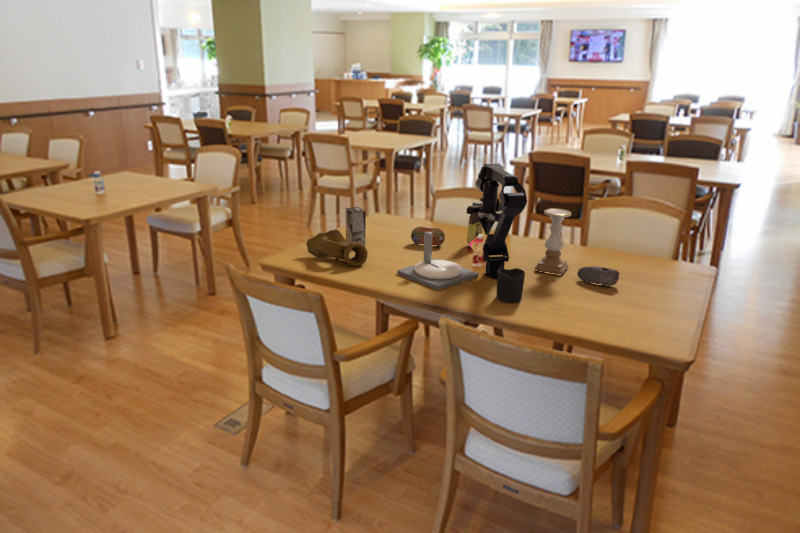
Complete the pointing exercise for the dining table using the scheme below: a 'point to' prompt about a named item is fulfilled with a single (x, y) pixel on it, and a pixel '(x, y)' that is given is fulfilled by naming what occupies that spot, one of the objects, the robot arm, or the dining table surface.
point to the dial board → (437, 283)
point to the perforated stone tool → (599, 275)
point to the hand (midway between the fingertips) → (487, 234)
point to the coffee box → (355, 225)
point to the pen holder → (510, 284)
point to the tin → (420, 231)
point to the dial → (435, 264)
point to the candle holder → (554, 244)
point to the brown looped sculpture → (337, 248)
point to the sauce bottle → (474, 225)
